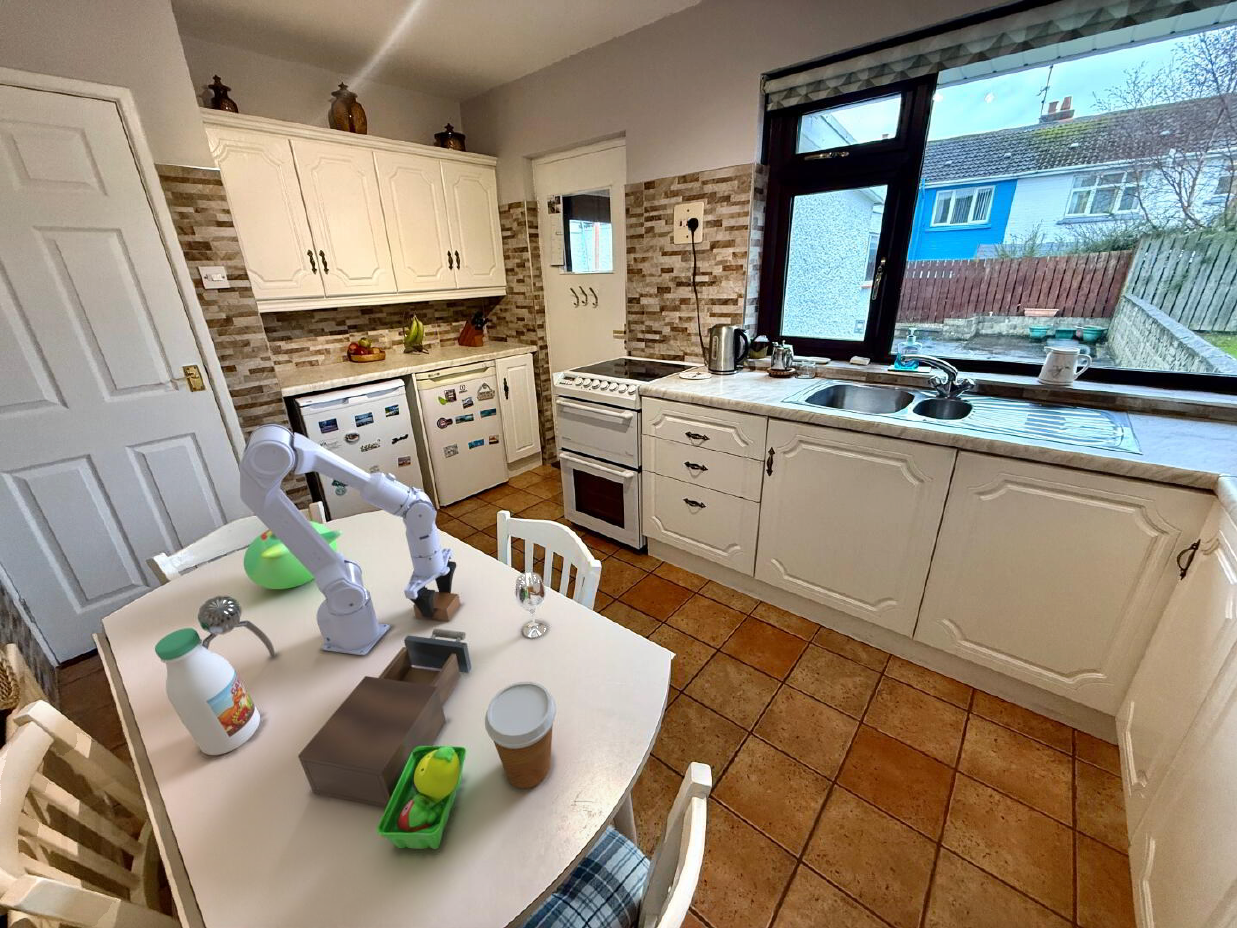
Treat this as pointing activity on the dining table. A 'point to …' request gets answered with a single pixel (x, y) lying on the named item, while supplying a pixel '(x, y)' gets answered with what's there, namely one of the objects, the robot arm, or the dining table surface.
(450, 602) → the wooden block
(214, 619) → the juicer
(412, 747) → the cabinet
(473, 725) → the dining table surface
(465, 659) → the drawer
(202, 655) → the milk bottle
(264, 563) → the toy bird
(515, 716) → the disposable coffee cup
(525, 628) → the wineglass
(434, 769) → the fruit basket
